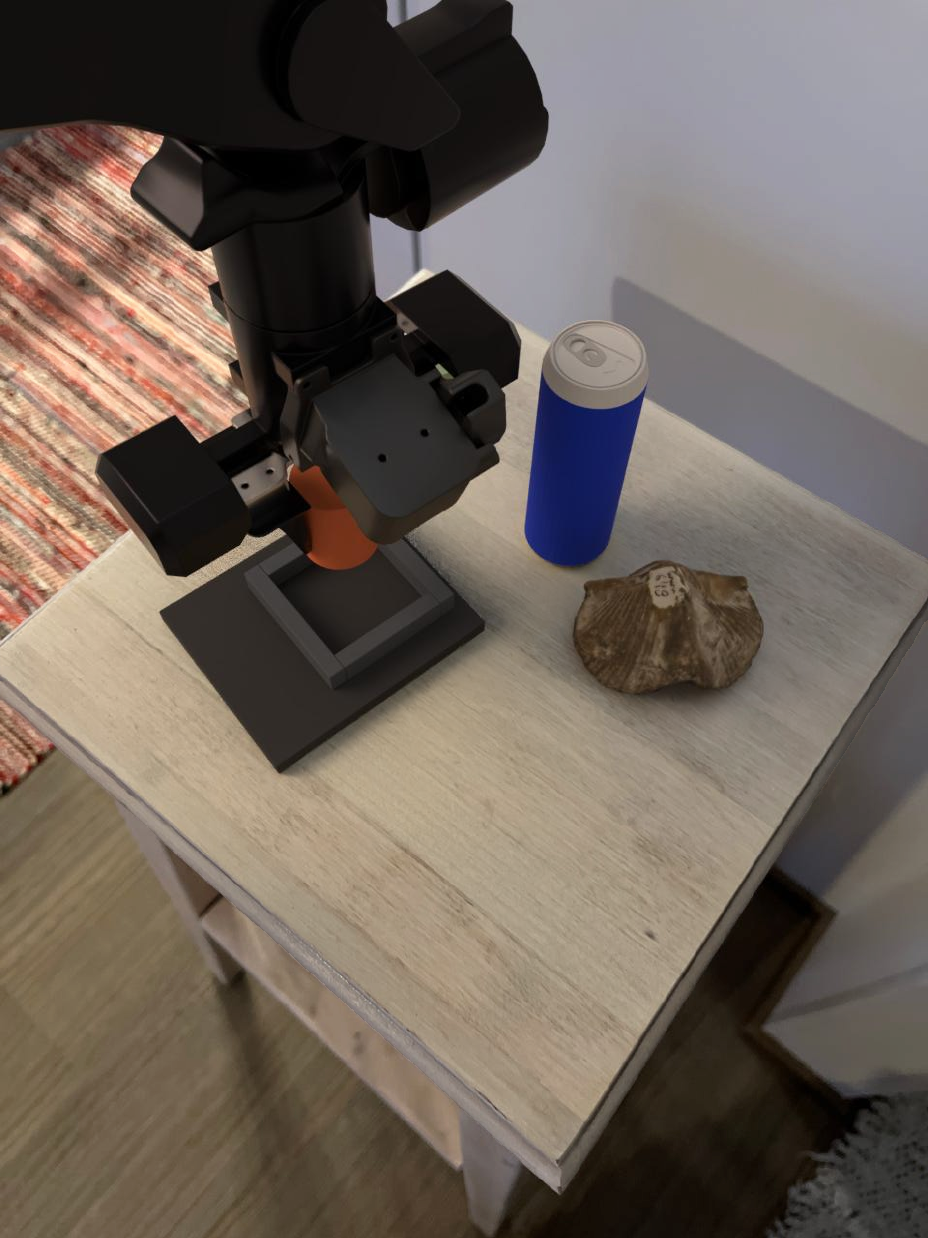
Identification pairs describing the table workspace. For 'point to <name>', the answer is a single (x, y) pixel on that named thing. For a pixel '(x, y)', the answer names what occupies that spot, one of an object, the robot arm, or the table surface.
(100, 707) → the table surface
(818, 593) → the table surface
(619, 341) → the beverage can
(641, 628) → the fossilized seashell
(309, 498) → the orange cylinder
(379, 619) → the base pad
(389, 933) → the table surface
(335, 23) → the robot arm
